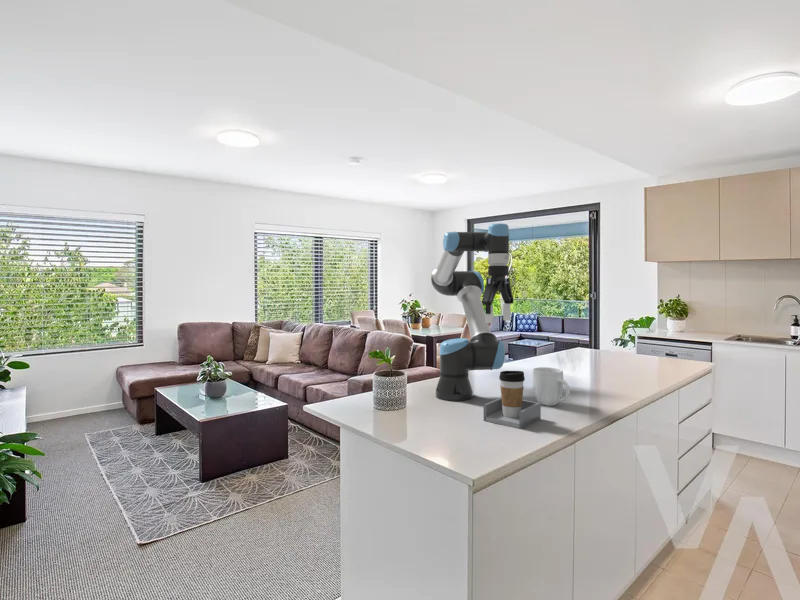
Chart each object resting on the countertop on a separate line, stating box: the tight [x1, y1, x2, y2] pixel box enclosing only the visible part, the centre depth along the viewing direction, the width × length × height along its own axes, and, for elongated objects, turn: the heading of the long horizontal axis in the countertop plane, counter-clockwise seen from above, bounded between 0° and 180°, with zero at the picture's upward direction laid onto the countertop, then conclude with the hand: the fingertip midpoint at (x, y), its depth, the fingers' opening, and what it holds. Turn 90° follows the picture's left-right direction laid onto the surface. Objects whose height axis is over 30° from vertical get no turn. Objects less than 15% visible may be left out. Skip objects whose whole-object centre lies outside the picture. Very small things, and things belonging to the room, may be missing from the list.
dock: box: [483, 397, 542, 430], centre depth 156 cm, size 14×14×6 cm
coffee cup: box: [498, 370, 525, 418], centre depth 155 cm, size 8×8×15 cm
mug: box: [532, 366, 571, 407], centre depth 174 cm, size 15×11×13 cm
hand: (498, 321), depth 173 cm, fingers open, 13 cm apart
